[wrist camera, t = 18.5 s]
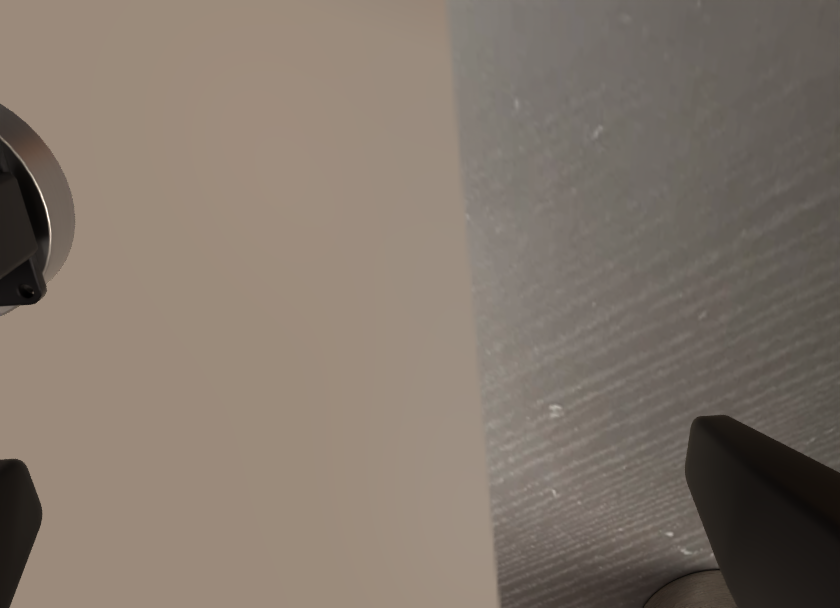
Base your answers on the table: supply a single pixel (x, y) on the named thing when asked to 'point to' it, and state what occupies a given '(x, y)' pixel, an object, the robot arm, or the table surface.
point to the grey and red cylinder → (694, 592)
